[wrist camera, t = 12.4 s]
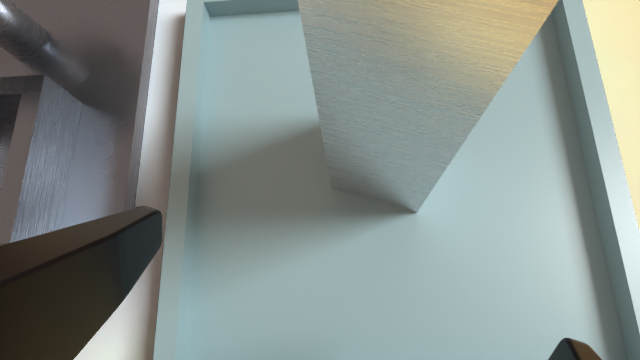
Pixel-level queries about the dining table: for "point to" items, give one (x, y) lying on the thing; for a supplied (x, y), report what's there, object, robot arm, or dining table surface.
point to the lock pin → (408, 84)
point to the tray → (391, 214)
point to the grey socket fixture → (71, 110)
